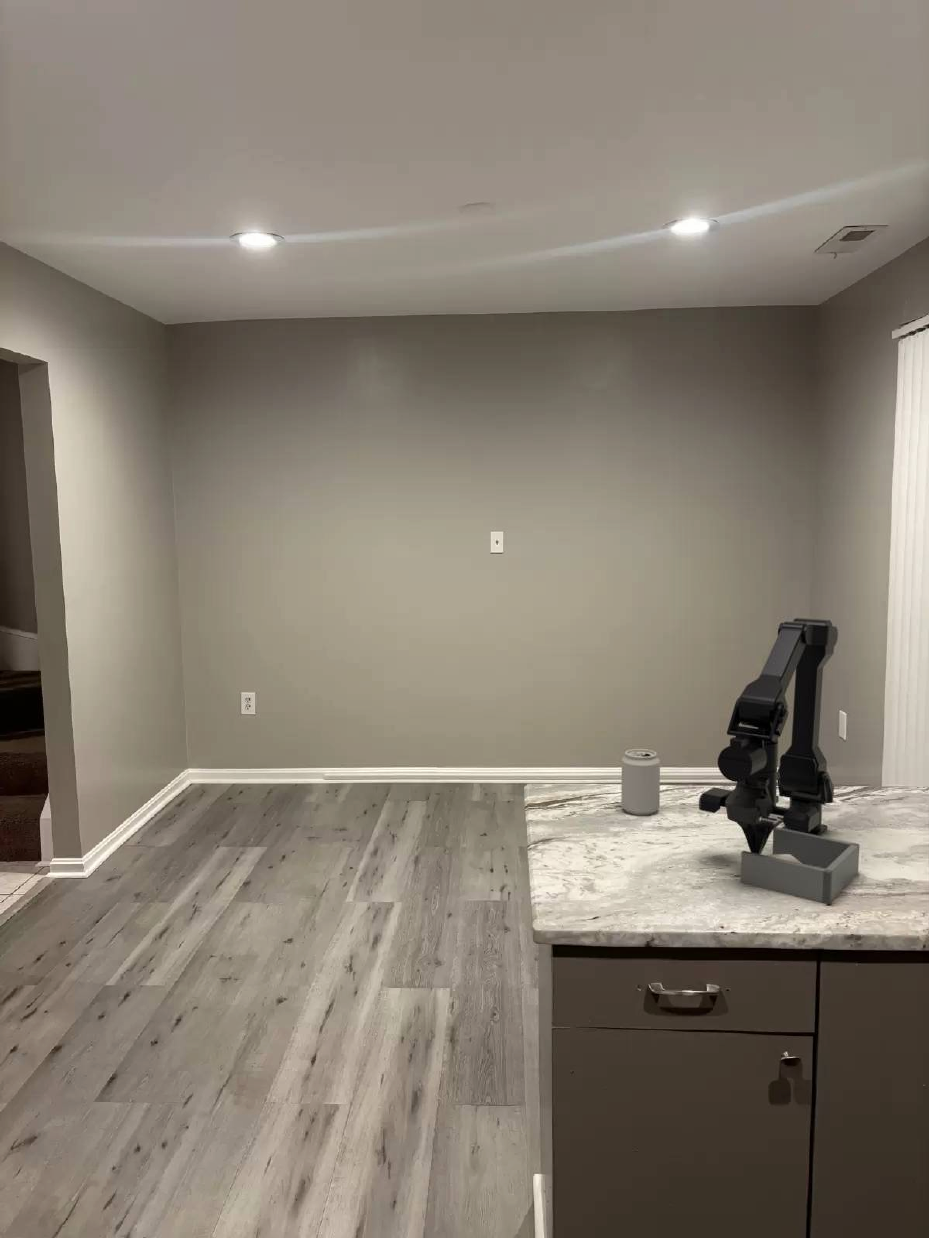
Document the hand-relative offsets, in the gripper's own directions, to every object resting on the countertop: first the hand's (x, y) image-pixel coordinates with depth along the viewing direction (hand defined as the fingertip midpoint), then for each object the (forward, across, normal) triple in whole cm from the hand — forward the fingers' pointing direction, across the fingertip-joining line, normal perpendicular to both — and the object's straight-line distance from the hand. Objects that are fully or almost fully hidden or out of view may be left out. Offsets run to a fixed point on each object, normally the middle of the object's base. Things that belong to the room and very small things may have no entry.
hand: (756, 858), depth 158 cm
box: (+2, +7, 0) cm, 8 cm away
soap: (+2, +5, 0) cm, 6 cm away
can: (+2, -30, +15) cm, 33 cm away
